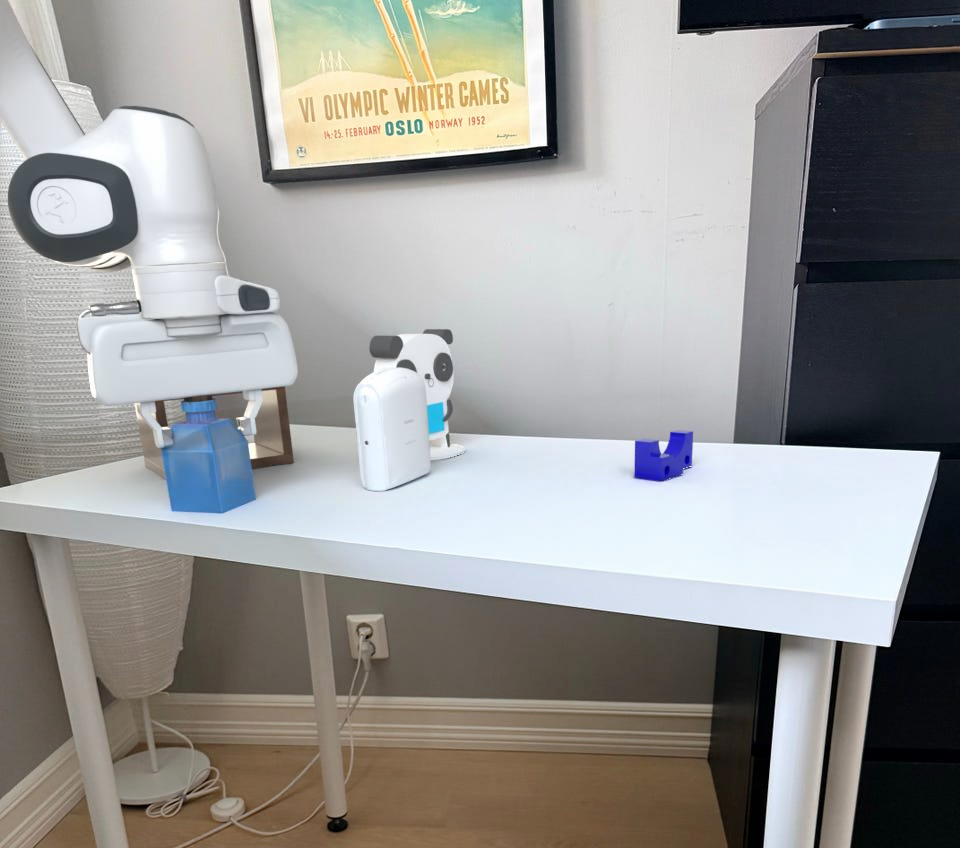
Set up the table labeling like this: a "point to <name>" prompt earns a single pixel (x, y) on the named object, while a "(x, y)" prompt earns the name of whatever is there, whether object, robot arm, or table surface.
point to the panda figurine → (425, 378)
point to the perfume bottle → (207, 461)
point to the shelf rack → (264, 452)
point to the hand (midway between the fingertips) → (207, 440)
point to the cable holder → (663, 456)
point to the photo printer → (391, 428)
